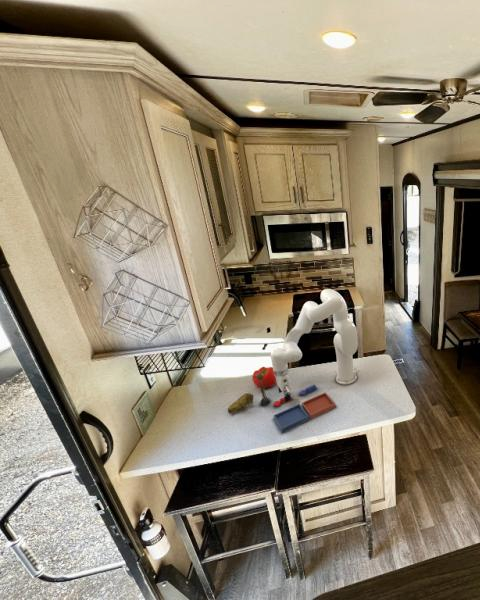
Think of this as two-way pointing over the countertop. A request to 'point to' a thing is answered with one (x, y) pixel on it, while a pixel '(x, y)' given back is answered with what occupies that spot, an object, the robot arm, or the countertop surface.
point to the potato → (241, 403)
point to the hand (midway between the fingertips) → (284, 396)
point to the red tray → (318, 405)
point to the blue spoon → (307, 390)
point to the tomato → (265, 377)
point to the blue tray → (291, 418)
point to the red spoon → (279, 402)
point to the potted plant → (262, 390)
